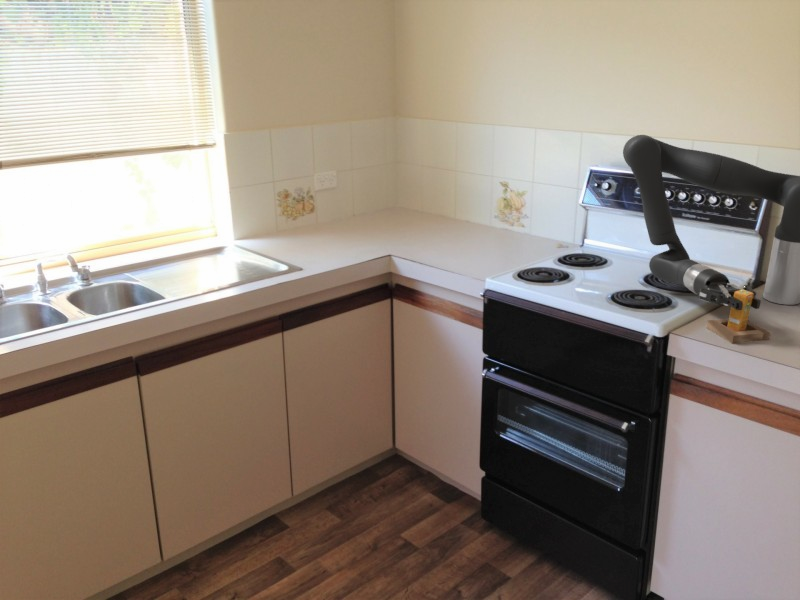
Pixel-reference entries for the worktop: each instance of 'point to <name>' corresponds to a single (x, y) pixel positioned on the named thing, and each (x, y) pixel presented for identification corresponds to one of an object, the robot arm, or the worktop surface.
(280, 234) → the worktop surface
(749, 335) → the socket board
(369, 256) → the worktop surface
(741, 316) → the supplement box
